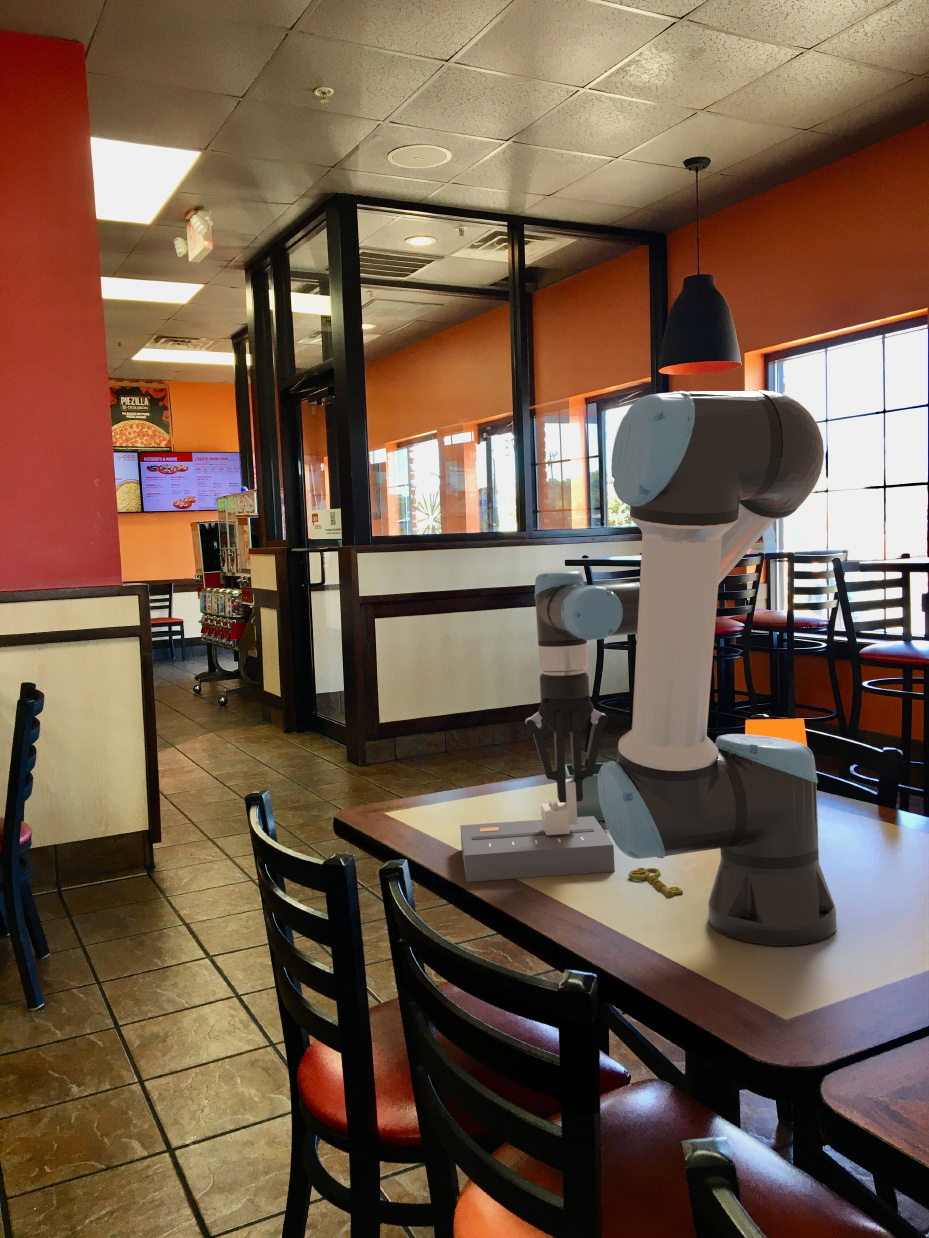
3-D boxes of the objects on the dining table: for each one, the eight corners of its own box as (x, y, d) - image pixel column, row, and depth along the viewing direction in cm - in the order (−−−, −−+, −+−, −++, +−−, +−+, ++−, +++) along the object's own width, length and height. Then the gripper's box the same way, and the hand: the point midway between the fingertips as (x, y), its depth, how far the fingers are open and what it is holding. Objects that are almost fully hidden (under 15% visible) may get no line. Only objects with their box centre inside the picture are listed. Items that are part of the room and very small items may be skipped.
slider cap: (569, 833, 146) (568, 806, 146) (546, 835, 146) (544, 808, 146) (564, 824, 151) (563, 798, 151) (542, 826, 151) (540, 799, 151)
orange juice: (813, 854, 144) (808, 723, 142) (752, 854, 145) (746, 724, 144) (805, 839, 151) (800, 714, 150) (747, 839, 153) (742, 715, 152)
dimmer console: (614, 871, 141) (613, 844, 141) (466, 881, 140) (464, 854, 140) (595, 839, 157) (593, 815, 157) (461, 849, 156) (460, 824, 156)
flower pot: (621, 823, 166) (618, 772, 165) (570, 826, 166) (567, 775, 165) (614, 810, 175) (611, 761, 174) (566, 812, 175) (563, 764, 174)
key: (685, 888, 130) (650, 892, 129) (686, 897, 130) (651, 902, 129) (653, 863, 142) (621, 867, 141) (654, 872, 142) (622, 876, 141)
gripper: (601, 666, 151) (608, 812, 153) (519, 671, 151) (527, 818, 152) (610, 672, 144) (617, 826, 145) (524, 677, 143) (532, 831, 145)
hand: (571, 821), depth 149 cm, fingers closed
